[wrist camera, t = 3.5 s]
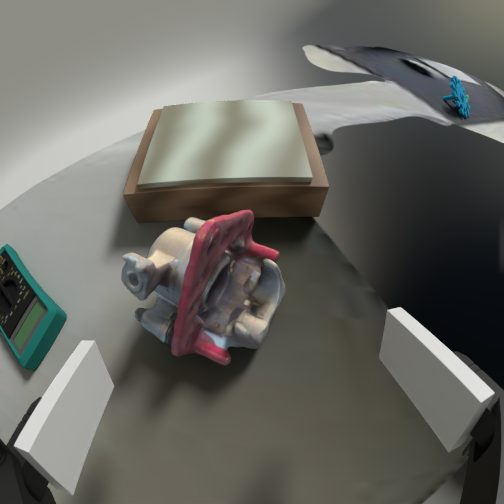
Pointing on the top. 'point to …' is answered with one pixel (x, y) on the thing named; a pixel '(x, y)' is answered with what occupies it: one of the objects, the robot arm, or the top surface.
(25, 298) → the digital multimeter
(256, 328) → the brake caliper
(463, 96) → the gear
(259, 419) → the top surface
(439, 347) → the robot arm
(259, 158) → the walnut stand
